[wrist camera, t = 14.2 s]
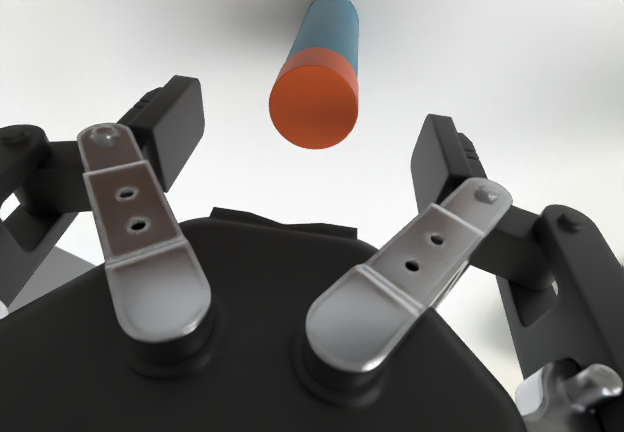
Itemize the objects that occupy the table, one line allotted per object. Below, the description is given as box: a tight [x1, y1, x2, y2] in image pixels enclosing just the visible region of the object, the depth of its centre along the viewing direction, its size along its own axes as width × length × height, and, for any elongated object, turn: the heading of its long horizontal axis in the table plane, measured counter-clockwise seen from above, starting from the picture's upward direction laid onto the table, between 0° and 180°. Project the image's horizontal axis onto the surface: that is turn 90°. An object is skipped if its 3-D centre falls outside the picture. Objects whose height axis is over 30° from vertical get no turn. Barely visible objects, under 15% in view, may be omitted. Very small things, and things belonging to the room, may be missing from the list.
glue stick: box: [269, 0, 359, 149], centre depth 18 cm, size 4×4×12 cm
